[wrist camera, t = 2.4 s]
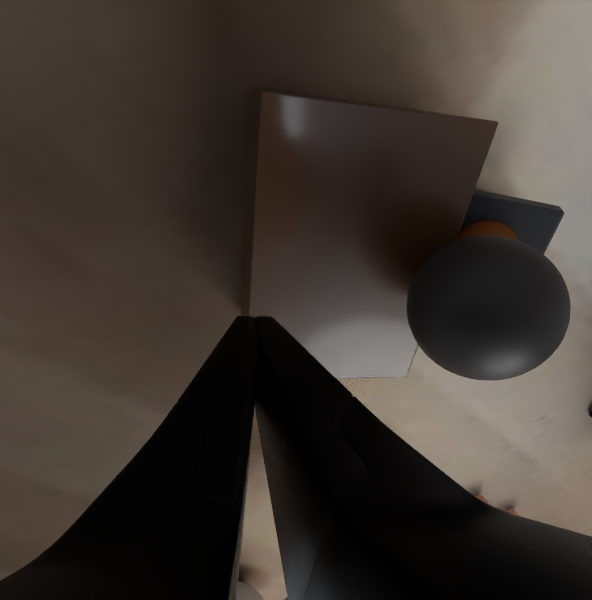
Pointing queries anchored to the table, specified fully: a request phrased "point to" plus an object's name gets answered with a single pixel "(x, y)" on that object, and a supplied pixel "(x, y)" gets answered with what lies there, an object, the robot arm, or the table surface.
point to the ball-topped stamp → (492, 292)
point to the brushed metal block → (351, 219)
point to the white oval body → (247, 592)
